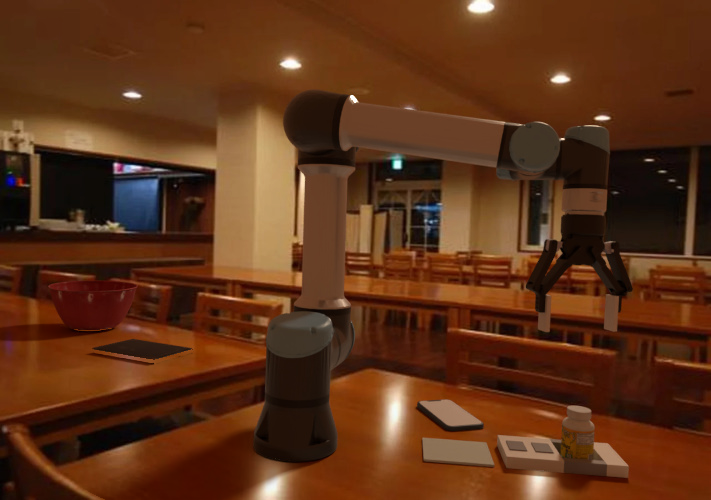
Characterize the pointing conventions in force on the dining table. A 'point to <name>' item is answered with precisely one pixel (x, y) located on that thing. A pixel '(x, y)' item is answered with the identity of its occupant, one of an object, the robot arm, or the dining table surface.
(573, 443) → the supplement bottle
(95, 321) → the mixing bowl
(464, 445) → the rubber mat
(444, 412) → the phone case
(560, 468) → the white fixture tray
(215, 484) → the dining table surface
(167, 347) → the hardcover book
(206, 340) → the dining table surface
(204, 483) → the dining table surface
